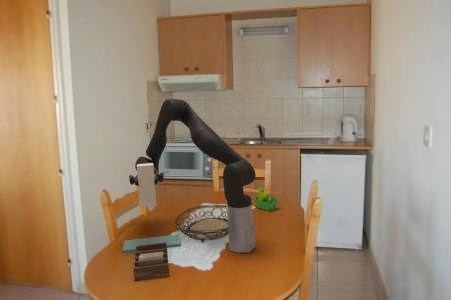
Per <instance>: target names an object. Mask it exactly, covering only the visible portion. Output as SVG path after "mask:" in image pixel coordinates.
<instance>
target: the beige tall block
mask: <svg viewBox="0 0 451 300" xmlns="http://www.w3.org/2000/svg"><path fill="white" fill-rule="evenodd" d="M136 172H137V174H138V184H139V186H138V196H139V208H140V209H142V208H151V207H157V198H156V197H157V196H156V195H157V194H156V185H155V183H154V167H153V163H148V164H137V171H136Z"/></svg>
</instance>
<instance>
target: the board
mask: <svg viewBox="0 0 451 300" xmlns="http://www.w3.org/2000/svg"><path fill="white" fill-rule="evenodd" d="M164 242H166V243H167V249H168V248H177V247H181V246H182V243H181V238H180V234H170V235H162V236H161V235H160V236H154V237H153V236H152V237H145V238H138V239H137V238H136V239H129V240H128V239H127V240H124V241H123V246H122V250H121V251H122V254H127V253H134V252H136V246H138V245H147V244H155V243H164Z"/></svg>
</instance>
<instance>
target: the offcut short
mask: <svg viewBox="0 0 451 300" xmlns="http://www.w3.org/2000/svg"><path fill="white" fill-rule="evenodd" d="M162 253H163V251H162V252H154V253H146V254H140V256H146V255H154V254H162Z"/></svg>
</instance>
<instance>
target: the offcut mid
mask: <svg viewBox="0 0 451 300" xmlns="http://www.w3.org/2000/svg"><path fill="white" fill-rule="evenodd" d="M155 256H163V253H162V254H154V255H146V256H139V258H147V257H155Z"/></svg>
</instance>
